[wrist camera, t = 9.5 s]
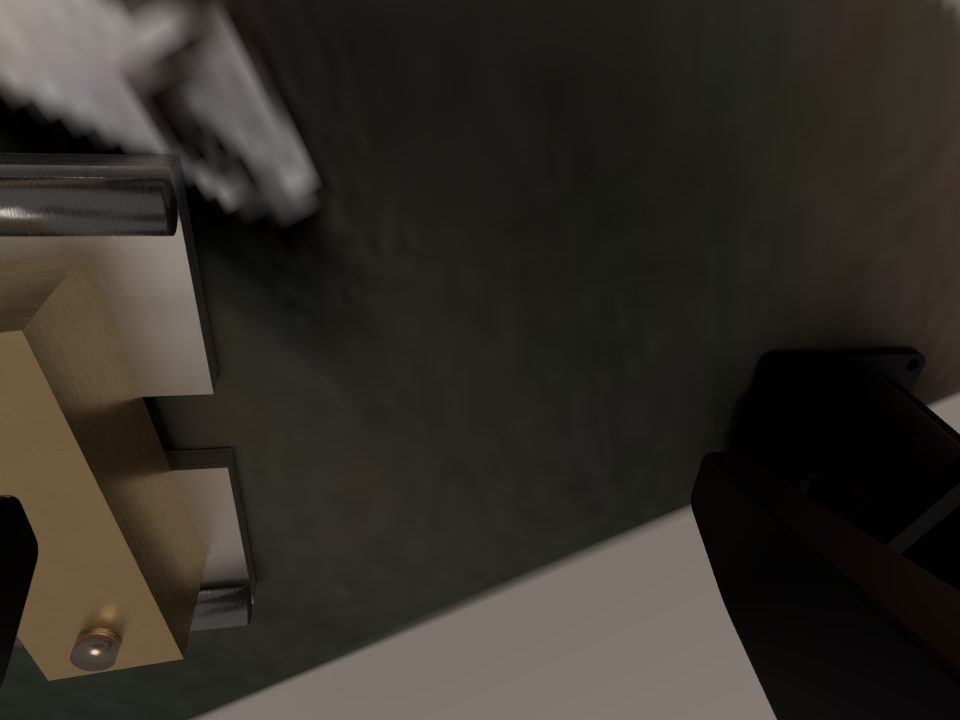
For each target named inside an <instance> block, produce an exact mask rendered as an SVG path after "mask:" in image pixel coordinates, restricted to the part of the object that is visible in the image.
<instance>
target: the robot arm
mask: <svg viewBox="0 0 960 720" xmlns="http://www.w3.org/2000/svg"><path fill="white" fill-rule="evenodd" d="M925 361H926V360H925V357H924V356H923V355H922V354H921V353H919V352H918V351H917V350H915V349H912V348H903V349H875V350H846V351H818V352H789V353H774V354H770V355H768V356H767V357H765V358H764V359H763V360H762V362H761V364H760V366H759V369H758V372H757V374H756V377H755V380H754V383H753V386H752V389H751V392H750V395H749V398H748V401H747V404H746V407H745V409H744V411H743V414H742V417H741V420H740V423H739V426H738V429H737V432H736V435H735V438H734V440H733V443H732V446H731V449H730V451H720V452H710V453H707V454H706V455H705V456H704V457H703V459H702V462H701V465H700V468H699V471H698V474H697V478H696V481H695V484H694V487H693V490H692V494H691V506H692V510H693V514H694V517H695V519H696V522H697V526H698V528H699V531H700V534H701V537H702V540H703V543H704V546H705V549H706V552H707V555H708V558H709V561H710V564H711V567H712V570H713V573H714V576H715V579H716V582H717V585H718V588H719V591H720V593H721V596H722V599H723V602H724V604H725V607H726V609H727V611H728V614H729V616H730V618H731V621H732V623H733V625H734V627H735V629H736V632H737V634H738V636H739V638H740V640H741V642H742V644H743V646H744V649H745V651H746V653H747V655H748V658H749V660H750V662H751V664H752V666H753V669H754V671H755V673H756V675H757V677H758V679H759V682H760V684H761V686H762V688H763V690H764V692H765V695H766V697H767V699H768V701H769V703H770V705H771V707H772V710H773V712H774V714H775V716H776V718H777V720H960V434H959V433H957V432H956V431H955V430H954V429H953V428H951V427H950V426H949V425H948V424H947V423H946V422H944V421H943V420H942V419H941V418H939V416H937V415H936V414H935V413H934V412H933V411H932V410H930V409H929V408H928V407H927V406H926V405H924V404H923V403H922V402H921V401H920V400H919V399H917V398H916V397H915V396H914V395H913V394H912V393H910V392H911V390H912V388H913V386H914V384H915V382H916V380H917V378H918V376H919V374H920V372H921V370H922V368H923V366H924V364H925ZM777 365H778V366H777ZM775 366H777V368H775V369H774V370H772V369H773V368H774V367H775ZM37 559H38V542H37V539H36V536H35V534H34V532H33V529H32V527H31V525H30V522H29V520H28V518H27V515H26V513H25V511H24V508H23V506H22V504H21V502H20V500H19V499H18V498H16V497H15V496H12V495H0V689H1V686H2V683H3V681H4V678H5V675H6V671H7V668H8V665H9V662H10V658H11V655H12V651H13V647H14V644H15V640H16V637H17V633H18V629H19V626H20V622H21V618H22V615H23V611H24V607H25V604H26V600H27V596H28V593H29V589H30V585H31V582H32V578H33V574H34V571H35V567H36V563H37Z"/></svg>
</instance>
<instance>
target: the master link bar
mask: <svg viewBox="0 0 960 720" xmlns="http://www.w3.org/2000/svg"><path fill="white" fill-rule="evenodd" d="M0 495H12V496H15V497H16V498H18V499H19V500H20V502H21V504H22V506H23V508H24V511H25V513H26V515H27V518H28V520H29V522H30V525H31V527H32V529H33V532H34V534H35V536H36V539H37V542H38V559H37V563H36V567H35V571H34V574H33V578H32V582H31V585H30V589H29V593H28V596H27V600H26V604H25V607H24V611H23V615H22V618H21V622H20V626H19V629H18V633H17V637H18V638H19V639H20V641H21V642H22V644H23V645H24V647H25V648H26V649H27V651H28V652H29V654H30V655H31V656H32V658H33V659H34V661H35V662H36V664H37V665H38V666H39V668H40V669H41V671H42V672H43V673H44V675H45V676H46V678H47V679H48V681H50V680H56V679H62V678H68V677H74V676H80V675H87V674H93V673H99V672H105V671H111V670H117V669H124V668H130V667H136V666H142V665H148V664H155V663H161V662H167V661H173V660H179V659H184V655H185V651H186V646H187V642H188V638H189V633H190V629H191V625H192V621H193V616H194V612H195V608H196V603H197V599H198V595H199V590H200V586H201V582H202V577H203V573H204V569H205V565H206V560H207V557H206V554H205V552H204V549H203V547H202V544H201V542H200V539H199V537H198V534H197V532H196V529H195V527H194V524H193V522H192V519H191V517H190V515H189V512H188V510H187V507H186V505H185V502H184V500H183V497H182V495H181V492H180V490H179V487H178V485H177V482H176V480H175V477H174V475H173V472H172V470H171V467H170V465H169V462H168V460H167V457H166V455H165V452H164V450H163V447H162V445H161V442H160V440H159V437H158V435H157V432H156V430H155V427H154V425H153V422H152V420H151V417H150V415H149V412H148V410H147V408H146V405H145V403H144V400H143V398H142V395H141V393H140V390H139V388H138V385H137V383H136V380H135V378H134V375H133V373H132V370H131V368H130V365H129V363H128V360H127V358H126V355H125V353H124V350H123V348H122V345H121V343H120V340H119V338H118V335H117V333H116V330H115V328H114V325H113V323H112V320H111V318H110V315H109V313H108V310H107V308H106V305H105V303H104V300H103V298H102V296H101V293H100V291H99V288H98V286H97V283H96V281H95V278H94V276H93V273H92V271H91V268H90V266H89V263H88V261H87V258H86V256H85V253H81V254H71V255H61V256H51V257H40V258H30V259H20V260H10V261H0Z"/></svg>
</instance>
